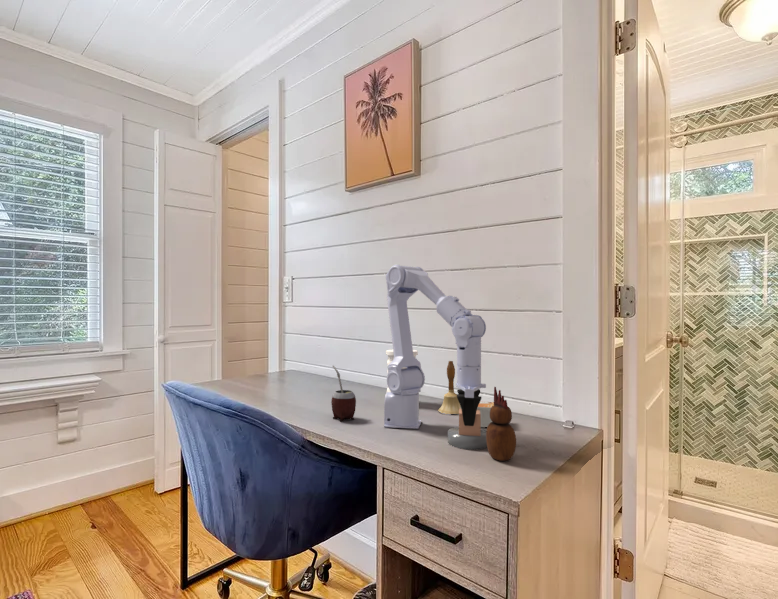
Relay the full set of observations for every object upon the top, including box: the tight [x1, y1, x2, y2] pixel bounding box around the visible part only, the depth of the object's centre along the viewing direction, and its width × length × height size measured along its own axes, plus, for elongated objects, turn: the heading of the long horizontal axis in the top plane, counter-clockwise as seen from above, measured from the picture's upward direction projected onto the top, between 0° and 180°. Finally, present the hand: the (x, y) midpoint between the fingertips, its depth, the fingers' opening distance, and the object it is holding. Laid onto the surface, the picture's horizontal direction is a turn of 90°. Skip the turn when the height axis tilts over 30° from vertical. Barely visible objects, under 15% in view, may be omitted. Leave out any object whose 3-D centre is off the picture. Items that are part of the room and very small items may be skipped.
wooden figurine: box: [486, 386, 517, 462], centre depth 92 cm, size 7×6×15 cm
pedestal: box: [447, 426, 488, 450], centre depth 103 cm, size 10×10×2 cm
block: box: [458, 409, 482, 436], centre depth 103 cm, size 5×5×5 cm
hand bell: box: [437, 360, 460, 415], centre depth 134 cm, size 8×8×16 cm
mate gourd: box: [330, 365, 357, 423], centre depth 125 cm, size 8×8×15 cm
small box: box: [460, 401, 494, 428], centre depth 120 cm, size 8×6×10 cm
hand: (468, 422), depth 103 cm, fingers open, 5 cm apart
